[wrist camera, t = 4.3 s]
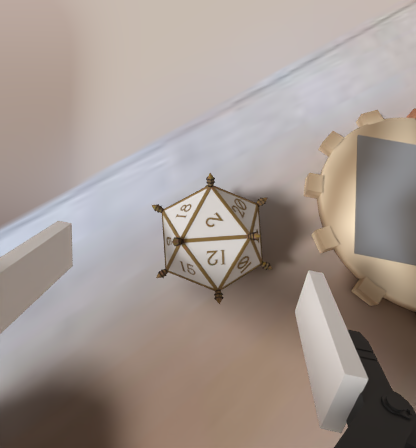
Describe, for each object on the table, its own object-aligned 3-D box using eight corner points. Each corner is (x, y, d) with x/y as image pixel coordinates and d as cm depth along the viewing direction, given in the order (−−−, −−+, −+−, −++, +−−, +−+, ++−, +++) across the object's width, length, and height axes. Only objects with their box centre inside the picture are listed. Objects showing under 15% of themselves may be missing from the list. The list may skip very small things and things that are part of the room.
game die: (200, 246, 30) (194, 146, 25) (283, 274, 26) (296, 161, 21) (137, 304, 24) (111, 185, 18) (235, 353, 20) (237, 218, 14)
